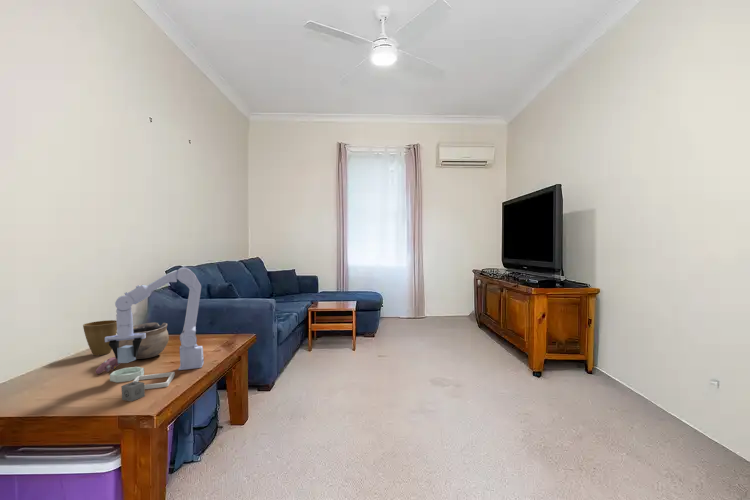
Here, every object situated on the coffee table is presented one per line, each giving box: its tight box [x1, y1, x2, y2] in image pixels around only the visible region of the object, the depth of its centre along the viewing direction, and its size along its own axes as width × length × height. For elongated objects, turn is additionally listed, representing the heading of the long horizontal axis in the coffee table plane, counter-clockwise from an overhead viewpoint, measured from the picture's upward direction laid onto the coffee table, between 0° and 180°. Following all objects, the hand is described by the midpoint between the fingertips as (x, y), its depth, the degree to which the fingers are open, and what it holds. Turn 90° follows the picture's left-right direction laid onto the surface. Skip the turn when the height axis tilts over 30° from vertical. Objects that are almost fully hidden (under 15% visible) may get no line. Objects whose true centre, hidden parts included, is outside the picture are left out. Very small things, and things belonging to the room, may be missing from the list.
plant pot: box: [82, 319, 117, 357], centre depth 207 cm, size 15×15×16 cm
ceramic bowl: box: [116, 322, 170, 360], centre depth 197 cm, size 22×22×15 cm
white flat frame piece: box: [132, 371, 176, 390], centre depth 160 cm, size 14×14×2 cm
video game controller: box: [95, 356, 122, 375], centre depth 178 cm, size 10×5×7 cm, turn 169°
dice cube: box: [121, 380, 146, 402], centre depth 145 cm, size 5×5×5 cm
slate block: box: [117, 345, 137, 364], centre depth 167 cm, size 4×4×6 cm
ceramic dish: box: [109, 366, 145, 383], centre depth 168 cm, size 11×11×2 cm
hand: (126, 357), depth 167 cm, fingers closed on slate block, 6 cm apart
